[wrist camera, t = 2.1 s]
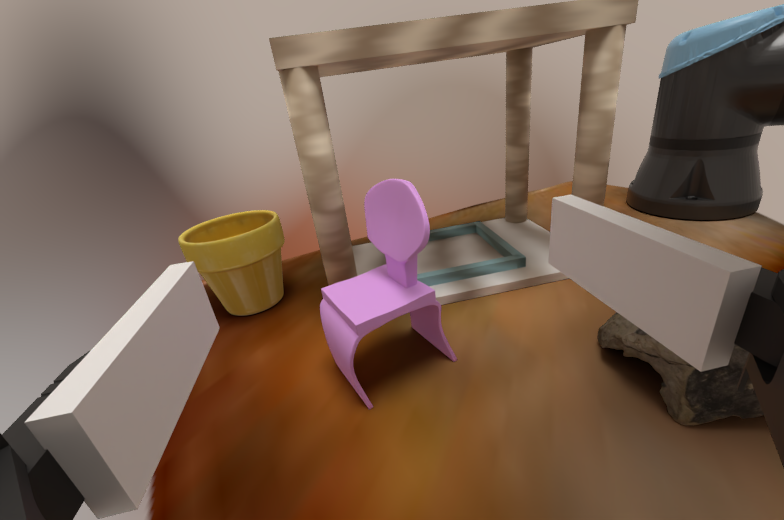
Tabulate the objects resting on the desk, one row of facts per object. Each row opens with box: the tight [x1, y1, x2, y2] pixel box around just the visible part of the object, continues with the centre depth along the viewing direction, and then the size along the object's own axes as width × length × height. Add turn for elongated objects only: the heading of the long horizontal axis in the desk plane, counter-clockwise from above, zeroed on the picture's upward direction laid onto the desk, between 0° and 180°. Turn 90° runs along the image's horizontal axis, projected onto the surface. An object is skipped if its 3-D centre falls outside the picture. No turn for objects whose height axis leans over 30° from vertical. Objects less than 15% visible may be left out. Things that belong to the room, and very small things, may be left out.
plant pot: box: [178, 210, 284, 316], centre depth 41 cm, size 10×10×10 cm
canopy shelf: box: [269, 0, 638, 305], centre depth 41 cm, size 29×18×25 cm, turn 100°
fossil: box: [598, 312, 764, 425], centre depth 24 cm, size 11×9×10 cm
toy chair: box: [320, 179, 457, 409], centre depth 27 cm, size 8×9×15 cm
